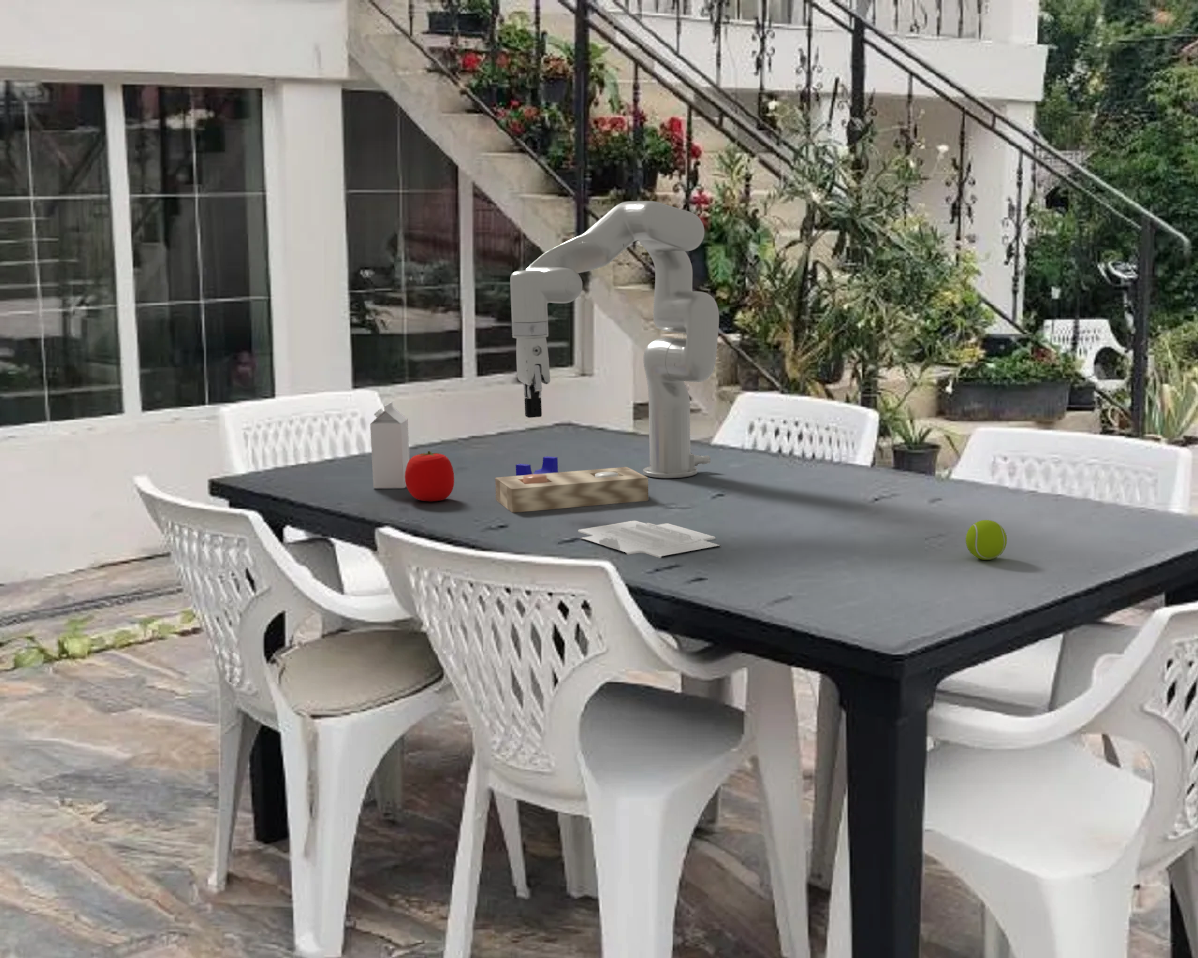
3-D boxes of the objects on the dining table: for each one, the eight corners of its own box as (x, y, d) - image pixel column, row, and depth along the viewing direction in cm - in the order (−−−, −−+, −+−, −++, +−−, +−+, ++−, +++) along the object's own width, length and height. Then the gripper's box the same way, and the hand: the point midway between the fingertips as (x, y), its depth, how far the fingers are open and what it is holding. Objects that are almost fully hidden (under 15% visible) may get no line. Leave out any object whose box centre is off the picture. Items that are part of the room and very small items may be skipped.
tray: (648, 522, 306) (648, 504, 306) (736, 552, 284) (736, 533, 283) (562, 537, 295) (562, 518, 295) (646, 570, 273) (646, 550, 272)
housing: (627, 489, 338) (626, 466, 337) (648, 500, 325) (648, 477, 324) (496, 500, 329) (495, 477, 328) (512, 512, 316) (511, 489, 315)
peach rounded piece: (543, 495, 328) (543, 473, 327) (550, 499, 323) (549, 477, 322) (521, 497, 326) (520, 475, 325) (527, 501, 322) (526, 479, 321)
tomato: (447, 505, 325) (445, 456, 323) (400, 504, 327) (397, 455, 325) (461, 496, 335) (459, 447, 333) (415, 495, 337) (413, 447, 335)
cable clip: (542, 481, 351) (541, 455, 350) (558, 483, 348) (557, 457, 347) (511, 490, 341) (510, 464, 340) (527, 492, 338) (526, 465, 337)
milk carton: (410, 483, 351) (407, 401, 348) (404, 489, 345) (400, 405, 341) (380, 483, 352) (376, 401, 349) (373, 489, 345) (368, 406, 342)
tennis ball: (999, 554, 271) (1000, 515, 270) (1011, 563, 264) (1012, 524, 263) (960, 555, 271) (961, 516, 270) (971, 564, 264) (972, 525, 263)
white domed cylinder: (614, 492, 333) (613, 471, 332) (621, 496, 328) (621, 475, 327) (592, 494, 331) (592, 473, 330) (599, 498, 326) (599, 476, 325)
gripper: (557, 331, 312) (560, 420, 316) (537, 326, 326) (541, 410, 330) (522, 334, 310) (525, 423, 313) (503, 328, 324) (507, 413, 327)
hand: (533, 416), depth 321 cm, fingers closed
